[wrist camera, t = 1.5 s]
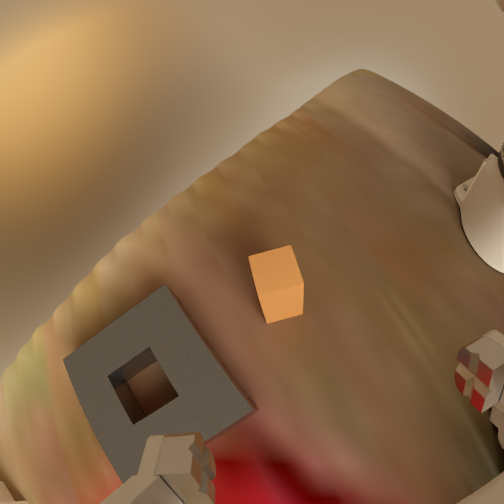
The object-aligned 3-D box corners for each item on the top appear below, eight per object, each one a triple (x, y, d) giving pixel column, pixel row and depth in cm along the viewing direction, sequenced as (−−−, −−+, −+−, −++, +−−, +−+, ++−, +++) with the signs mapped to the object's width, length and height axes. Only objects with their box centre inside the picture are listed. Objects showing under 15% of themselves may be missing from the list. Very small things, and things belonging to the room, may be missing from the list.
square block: (292, 281, 34) (290, 245, 27) (302, 313, 32) (303, 283, 25) (258, 291, 34) (247, 256, 27) (267, 323, 32) (257, 296, 25)
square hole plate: (178, 297, 35) (165, 283, 32) (258, 409, 28) (253, 409, 24) (82, 366, 32) (62, 359, 28) (142, 479, 24) (123, 484, 21)
